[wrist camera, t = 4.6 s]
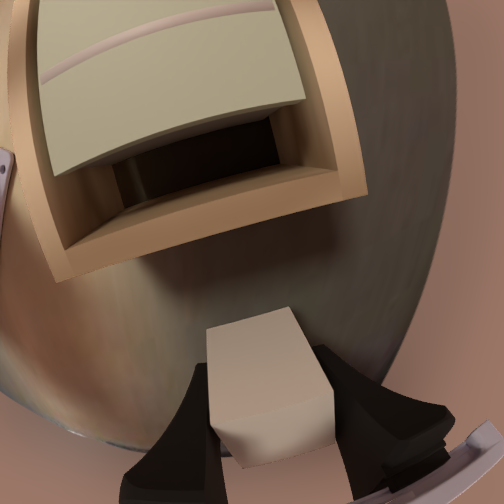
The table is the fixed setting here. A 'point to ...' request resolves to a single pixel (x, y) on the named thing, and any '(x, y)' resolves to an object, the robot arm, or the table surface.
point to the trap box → (197, 197)
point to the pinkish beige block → (267, 390)
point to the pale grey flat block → (156, 73)
